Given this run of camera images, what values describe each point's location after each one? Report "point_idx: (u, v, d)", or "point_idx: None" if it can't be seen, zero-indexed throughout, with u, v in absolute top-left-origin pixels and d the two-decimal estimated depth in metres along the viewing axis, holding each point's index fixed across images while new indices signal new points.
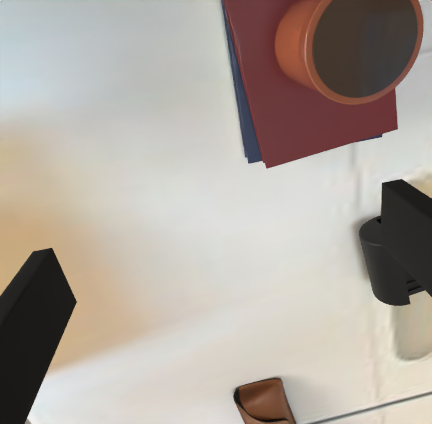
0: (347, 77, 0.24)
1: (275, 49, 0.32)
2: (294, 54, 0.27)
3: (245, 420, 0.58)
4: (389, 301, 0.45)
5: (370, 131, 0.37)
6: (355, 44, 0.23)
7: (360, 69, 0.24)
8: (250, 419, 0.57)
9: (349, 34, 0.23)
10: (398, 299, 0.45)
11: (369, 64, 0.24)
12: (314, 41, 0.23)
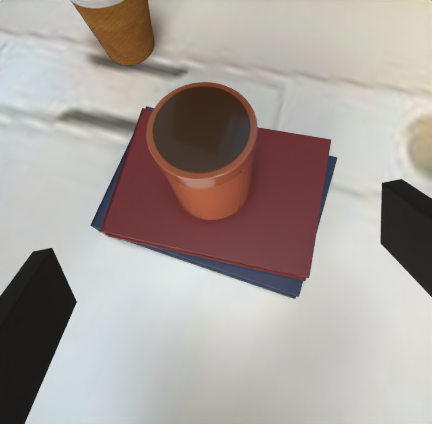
0: (221, 149, 0.25)
1: (198, 217, 0.34)
2: (190, 193, 0.28)
3: None
4: None
5: (320, 163, 0.35)
6: (197, 134, 0.25)
7: (220, 136, 0.25)
8: None
9: (186, 137, 0.25)
10: None
11: (221, 128, 0.25)
12: (175, 166, 0.25)
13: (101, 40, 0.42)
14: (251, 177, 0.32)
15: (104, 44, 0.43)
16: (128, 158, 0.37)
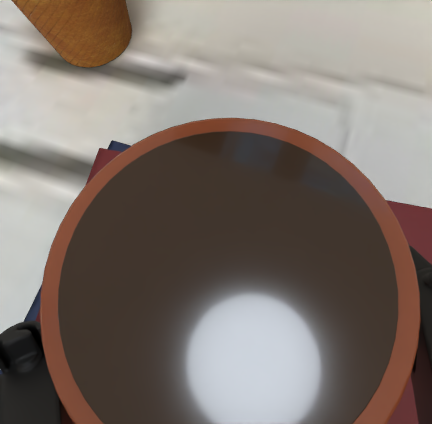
0: (298, 374, 0.07)
1: None
2: None
3: None
4: None
5: None
6: (210, 307, 0.07)
7: (293, 321, 0.07)
8: None
9: (173, 316, 0.07)
10: None
11: (293, 287, 0.07)
12: None
13: (36, 24, 0.25)
14: None
15: (43, 32, 0.25)
16: None
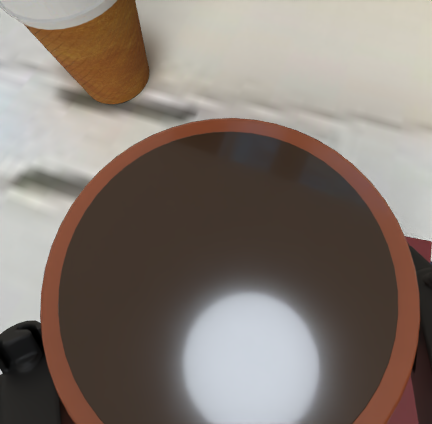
0: (298, 374, 0.07)
1: None
2: None
3: None
4: None
5: None
6: (210, 307, 0.07)
7: (293, 321, 0.07)
8: None
9: (173, 316, 0.07)
10: None
11: (293, 287, 0.07)
12: None
13: (71, 72, 0.29)
14: None
15: (76, 78, 0.30)
16: None
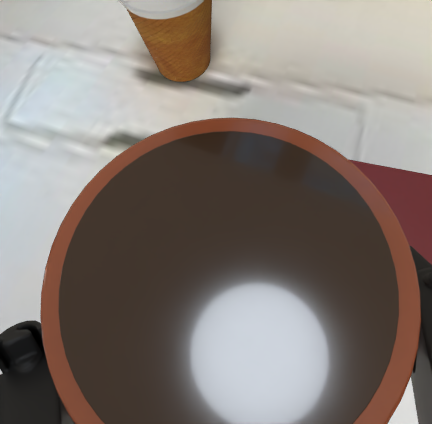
0: (299, 374, 0.07)
1: None
2: None
3: None
4: None
5: (431, 206, 0.29)
6: (210, 306, 0.07)
7: (294, 320, 0.07)
8: None
9: (173, 316, 0.07)
10: None
11: (294, 287, 0.07)
12: None
13: (155, 54, 0.37)
14: None
15: (158, 59, 0.38)
16: None
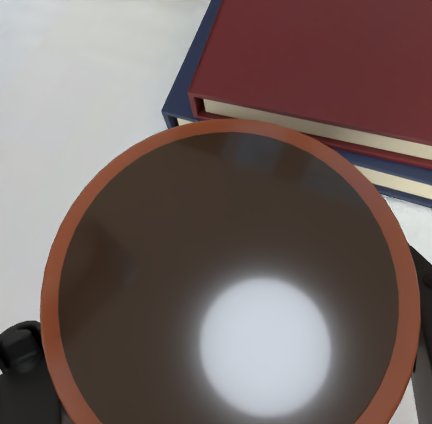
0: (299, 375, 0.07)
1: None
2: None
3: None
4: None
5: None
6: (210, 307, 0.07)
7: (294, 321, 0.07)
8: None
9: (173, 317, 0.07)
10: None
11: (293, 288, 0.07)
12: None
13: None
14: None
15: None
16: None
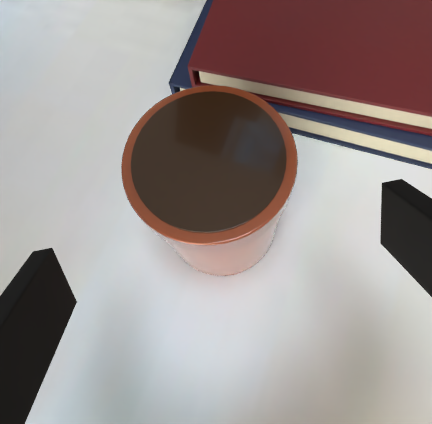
0: (240, 193, 0.15)
1: (202, 271, 0.24)
2: (191, 253, 0.18)
3: None
4: None
5: None
6: (201, 168, 0.16)
7: (239, 172, 0.16)
8: None
9: (184, 172, 0.16)
10: None
11: (239, 159, 0.16)
12: (166, 220, 0.15)
13: None
14: None
15: None
16: None
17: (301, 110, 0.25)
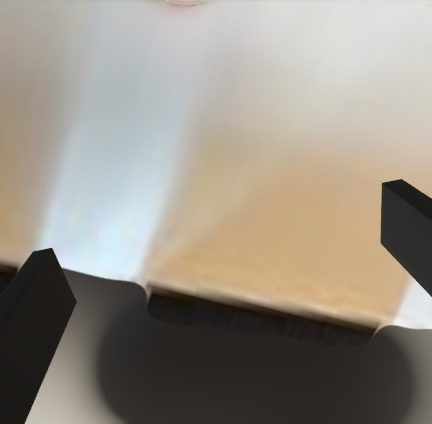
0: None
1: (171, 3, 0.35)
2: None
3: None
4: None
5: None
6: None
7: None
8: None
9: None
10: None
11: None
12: None
13: None
14: None
15: None
16: None
17: None
